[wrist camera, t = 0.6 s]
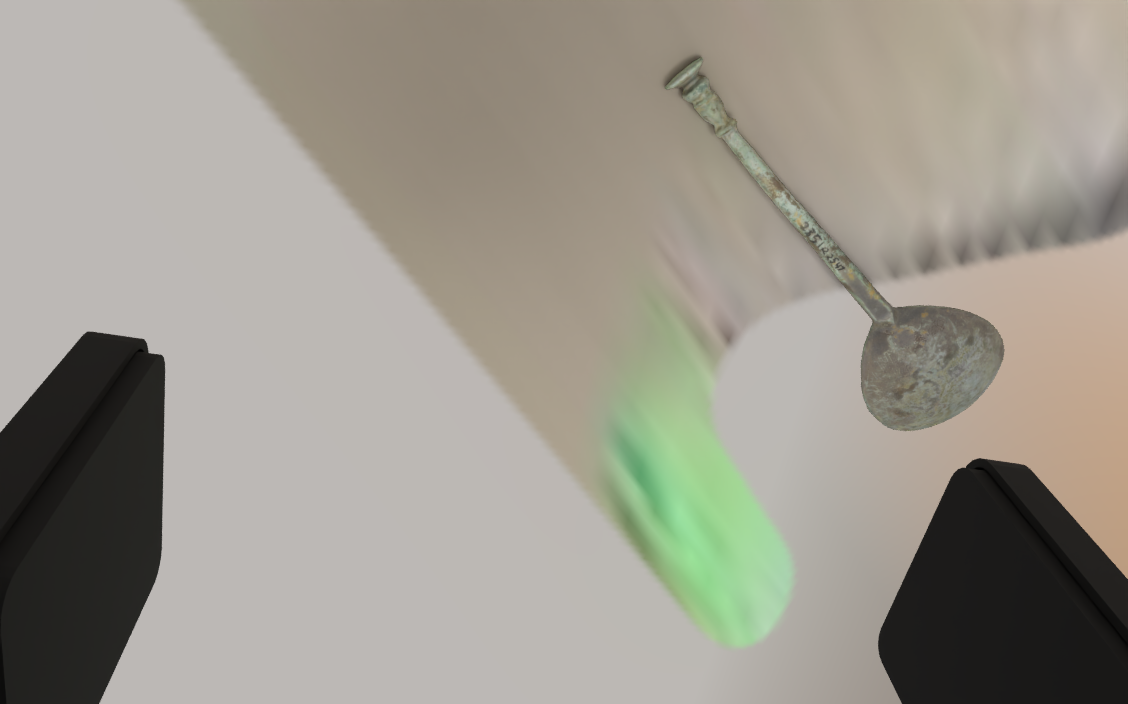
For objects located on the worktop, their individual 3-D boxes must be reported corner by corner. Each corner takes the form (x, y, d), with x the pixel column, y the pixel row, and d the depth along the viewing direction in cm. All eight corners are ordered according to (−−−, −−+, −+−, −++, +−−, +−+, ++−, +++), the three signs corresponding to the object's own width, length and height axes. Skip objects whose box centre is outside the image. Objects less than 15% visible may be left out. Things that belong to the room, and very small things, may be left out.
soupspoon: (897, 441, 47) (1008, 357, 46) (928, 480, 44) (1048, 392, 43) (615, 120, 38) (743, 2, 37) (631, 141, 35) (771, 15, 34)
